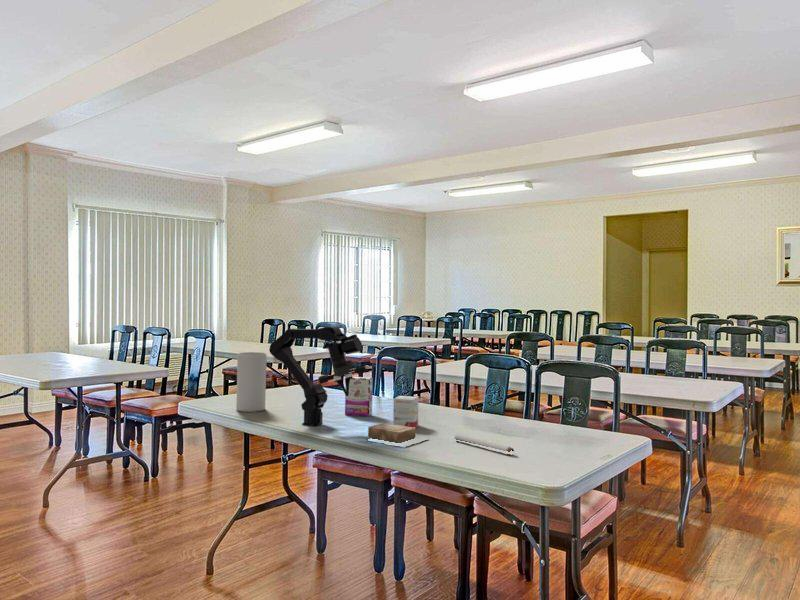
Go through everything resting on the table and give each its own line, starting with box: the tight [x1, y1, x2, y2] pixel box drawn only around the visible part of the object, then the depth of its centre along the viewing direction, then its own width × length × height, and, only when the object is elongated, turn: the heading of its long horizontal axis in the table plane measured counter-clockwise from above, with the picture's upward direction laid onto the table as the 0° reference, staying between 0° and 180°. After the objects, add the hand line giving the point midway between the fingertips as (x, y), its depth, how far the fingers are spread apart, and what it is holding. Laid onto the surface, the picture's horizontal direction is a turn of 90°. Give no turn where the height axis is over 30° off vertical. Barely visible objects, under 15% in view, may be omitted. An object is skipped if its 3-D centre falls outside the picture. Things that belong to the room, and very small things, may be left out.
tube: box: [454, 433, 515, 452], centre depth 213 cm, size 3×3×25 cm
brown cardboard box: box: [367, 422, 417, 443], centre depth 223 cm, size 4×10×14 cm
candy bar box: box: [344, 376, 374, 417], centre depth 266 cm, size 11×5×16 cm, turn 76°
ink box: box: [392, 395, 419, 428], centre depth 246 cm, size 9×9×12 cm
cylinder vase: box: [235, 351, 268, 413], centre depth 272 cm, size 12×12×25 cm
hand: (347, 396), depth 239 cm, fingers closed
